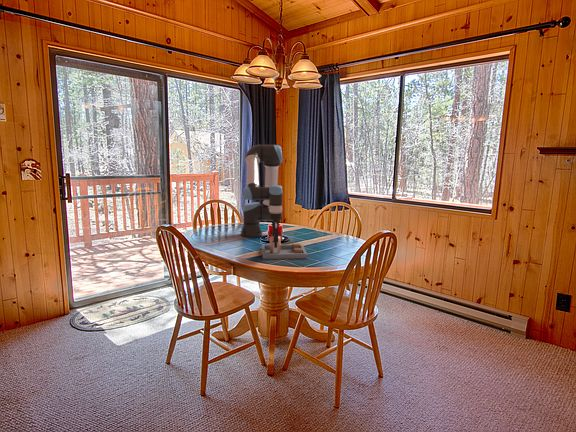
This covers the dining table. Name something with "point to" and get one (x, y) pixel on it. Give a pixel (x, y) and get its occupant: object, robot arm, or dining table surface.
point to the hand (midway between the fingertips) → (275, 250)
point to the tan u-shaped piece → (272, 244)
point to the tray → (283, 252)
